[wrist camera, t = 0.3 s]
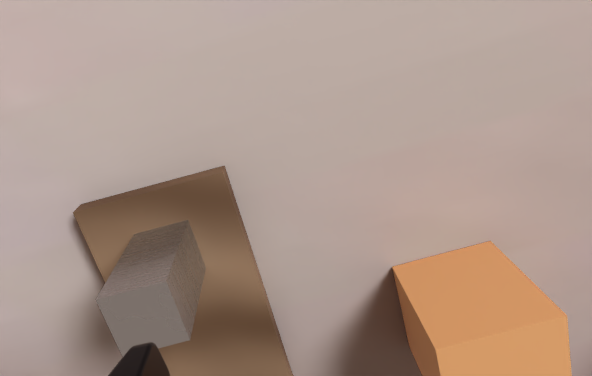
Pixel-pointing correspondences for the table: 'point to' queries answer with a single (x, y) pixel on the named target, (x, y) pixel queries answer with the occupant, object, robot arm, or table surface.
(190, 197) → the board
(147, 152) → the table surface
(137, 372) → the robot arm
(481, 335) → the orange block
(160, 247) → the post
